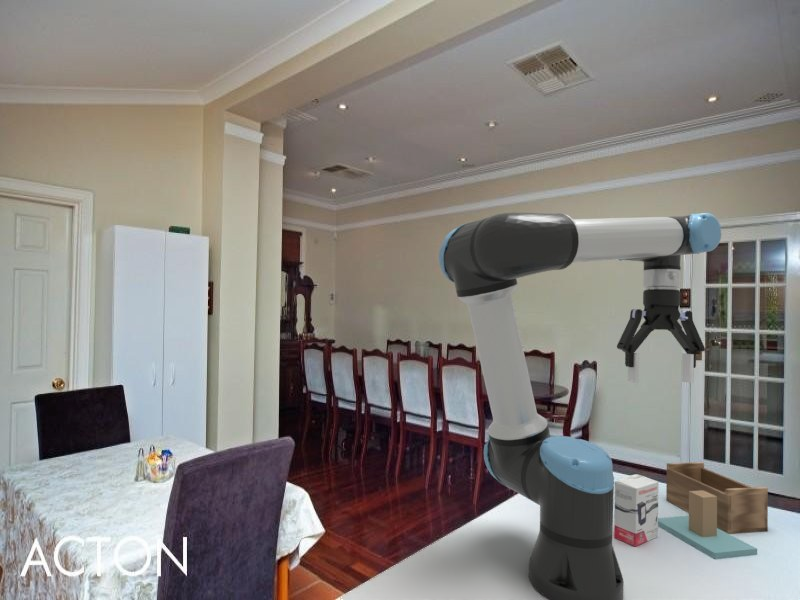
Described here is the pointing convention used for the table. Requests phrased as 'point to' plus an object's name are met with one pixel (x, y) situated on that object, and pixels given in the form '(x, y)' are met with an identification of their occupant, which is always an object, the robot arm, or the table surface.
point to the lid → (705, 529)
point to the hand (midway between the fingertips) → (660, 382)
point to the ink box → (636, 509)
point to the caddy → (719, 497)
